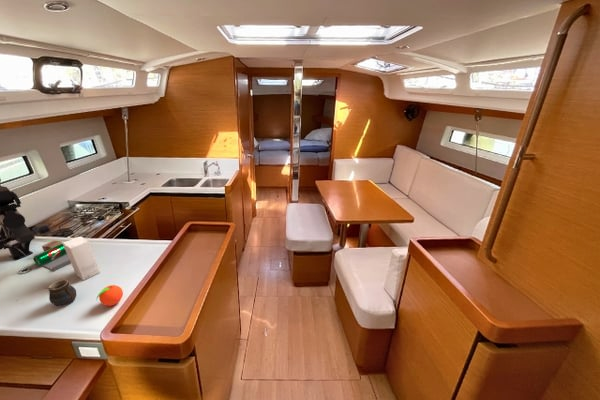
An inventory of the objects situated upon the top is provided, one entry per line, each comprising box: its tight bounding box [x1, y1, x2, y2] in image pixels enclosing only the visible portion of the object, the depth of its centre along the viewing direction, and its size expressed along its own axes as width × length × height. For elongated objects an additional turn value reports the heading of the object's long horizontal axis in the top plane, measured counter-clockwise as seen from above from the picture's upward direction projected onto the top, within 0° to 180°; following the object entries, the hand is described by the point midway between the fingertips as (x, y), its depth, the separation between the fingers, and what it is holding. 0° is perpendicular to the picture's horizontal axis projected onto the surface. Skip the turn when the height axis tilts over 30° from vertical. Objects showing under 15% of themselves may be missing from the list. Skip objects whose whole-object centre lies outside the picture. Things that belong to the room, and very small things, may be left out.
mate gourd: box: [44, 279, 77, 307], centre depth 94 cm, size 7×8×10 cm
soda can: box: [32, 244, 66, 267], centre depth 120 cm, size 5×5×12 cm
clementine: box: [96, 284, 124, 307], centre depth 94 cm, size 8×7×7 cm
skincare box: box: [62, 235, 101, 281], centre depth 108 cm, size 8×7×16 cm
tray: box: [42, 253, 72, 272], centre depth 121 cm, size 14×13×2 cm
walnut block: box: [41, 240, 63, 252], centre depth 125 cm, size 5×5×5 cm
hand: (26, 255), depth 109 cm, fingers closed
